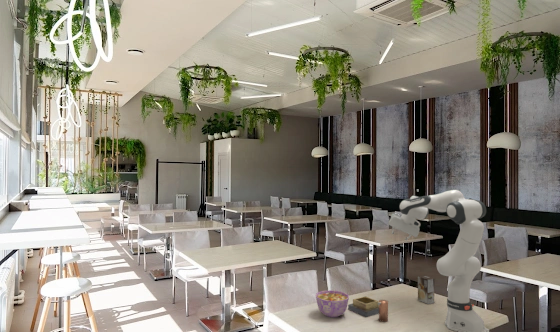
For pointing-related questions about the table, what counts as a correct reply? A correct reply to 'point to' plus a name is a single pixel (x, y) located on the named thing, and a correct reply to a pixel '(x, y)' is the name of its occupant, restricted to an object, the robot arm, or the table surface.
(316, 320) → the table surface
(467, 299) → the robot arm
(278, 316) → the table surface
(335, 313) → the bowl of food
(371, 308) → the grey square holder
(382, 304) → the spout can
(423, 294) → the coffee box
